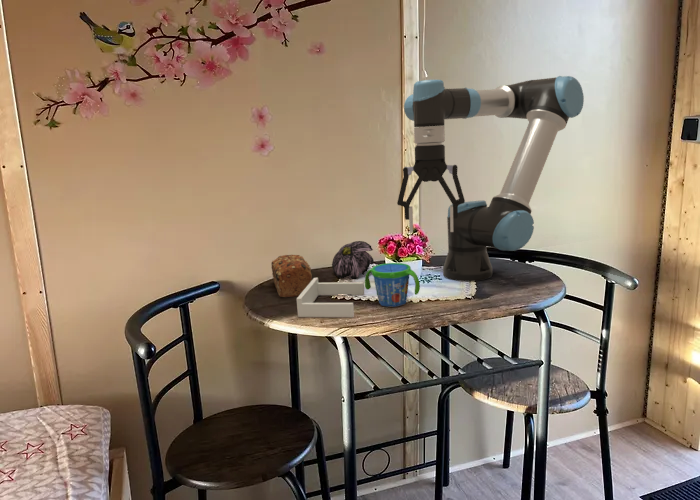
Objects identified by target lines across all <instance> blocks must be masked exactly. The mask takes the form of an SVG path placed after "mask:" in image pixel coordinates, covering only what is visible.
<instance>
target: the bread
mask: <svg viewBox="0 0 700 500" xmlns="http://www.w3.org/2000/svg"><path fill="white" fill-rule="evenodd" d="M311 269H312V268H311V267H310V264H309V263H308V262H307V261H306V260H305V258H304V257H303V256H302V255H300V254H284V255H279V256H278V257H277V258H276V259H275V258H274V260H272V261H271V271H272V274H271V275H272V278H273V279H272V280H273V283H274V286H275V289H276V291H277V294H278V296H279V297H280V298H292V297H293V298H294V297H298V296H299V295H300V294H301V293H302V292H303V290H304V289H305V288H306V287H307V286H308V284H309V283H310V282H311V281H312V280H313V278H312V276H313V275H312V271H311Z"/></svg>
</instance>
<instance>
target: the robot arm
mask: <svg viewBox="0 0 700 500" xmlns="http://www.w3.org/2000/svg"><path fill="white" fill-rule="evenodd" d="M584 98H585V97H584V92H583V88H582V85H581V83H580V82H579V80H578V79H577V78H575V77H574V76H570V75H564V76H563V75H559V76H557V77H549V78H539V79H538V78H537V79H530V80H525V81H521V82H516V83H513V84H508V85H506V84H505V85H499V86H497V87H496V88H495V89H493V88H492V89H474V88H468V87H464V88H463V87H462V88H445V86H444V81H443V80H442V79H424V80H418V81H415V83H414V84H413V90H412V94H409V95H408V96H407V97H406V99H405V101H404V103H403V104H404V105H403V109H404V114H405V116H406V118H407V119H409V120H410V121H412V122H413V131H414V132H413V136H414V137H413V139H414V143H415V144H416V145H415V147H414V164H413V166H404V167H403V169H402V173H403V177H402V181H401V185H400V190H399V194H398V198H397V202H396V203H397V206H401V207H403V209H404V219H405V220H406V221H407V220H408V221H409V224H408V225H409V226H408V227H409V233H410V234H411V233H412V234H413V232H414V215H413V214H414V213H413V206H410V205H411V203H412V201H413V199H414V198H415V195H416V194H417V192H418V189H419V188H420V186H421V184H422V182H424V183H425V182H427V183H429V182H437V181H438V182H439V184H440V185H441V188H442V189H443V191H444V192H445V194H446V196H447V197H448V199H449V201H450V202H451V204H450V205H449V206H448V209H447V217H446V218H447V219H446V220H447V221H446V223H447V244H448V246H447V247H448V249H447V251H448V252H447V255H446V258H445V261H444V264H443V267H442V268H443V269H442V276H443V277H444V278H446V279H449V280H451V281H460V282H474V281H475V282H476V281H477V282H478V281H484V280H487V279H489V278H492V276H493V266H492V263H491V260H490V257H489V254H488V250H487V248H492V249H496V250H497V249H498V250H499V251H508V252H509V251H510V252H513V251H514V252H515V251H518V250H520V249H522V248H524V247H525V246H526V245H527V244H528V243H529V241H531V238H532V235H533V233H534V229H535V227H534V223H535V222H534V218H533V216H532V212H533V211H532V208H531V206H530V202H531V199H532V197H533V194H534V192H535V189H536V187H537V184H538V181H539V180H540V177H541V174H542V171H543V169H544V167H545V165H546V163H547V160H548V157H549V154H550V152H551V150H552V147H553V145H554V141H555V140H556V138H557V134H558V132H560V131H562V130H564V129H566V126H567V124H568V121H569V119H571V118H575V117H578V116H579V115H580V114H581V113H582V111H583V107H584V101H585V100H584ZM489 116H495V117H497V118H500V119H501V118H502V119H504V118H506V119H507V118H510V119H521V120H527V121H528V123H527V127H526V129H525V131H524V134H523V135H522V138H521V141H520V144H519V147H518V149H517V151H516V154H515V156H514V158H513V161H512V163H511V166H510V168H509V171H508V174H507V176H506V179H505V181H504V183H503V186H502V187H501V190H500V193H499V194H497V195H495V196H493V197H492V199H491V201H490V203H489V206H488V204H487V200H472V201H471V200H470V201H466V200H465V197H464V193H463V189H462V186H461V183H460V180H459V177H458V165H457V164H453V165H452V164H447V163H446V152H445V151H446V146H445V145H444V144H443V143H444V142H445V139H446V138H445V135H446V134H445V131H446V130H445V120H455V119H457V120H458V119H465V120H466V119H470V118H473V117H489ZM446 171H448V172H449V174H451V175H452V179H453V182H454V186H455V189H456V193H457V196H458V199H456V197H455V195H454V194H453V193H452V191H451V189H450V186H449V185H448V184H447V182H446V180H445V179H444V177H443V175H444V173H445V172H446ZM412 172H414V173H415V174H416V175H417V176H418V178H417V180H416V182H415V184H414V186H413V188H412V190H411V192H410V193H409V195H408V197H407V199H406V200H404V198H405V193H406V190H407V187H408V186H407V185H408V182H409V178H410V176H411V175H412Z"/></svg>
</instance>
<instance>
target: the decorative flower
mask: <svg viewBox="0 0 700 500" xmlns="http://www.w3.org/2000/svg"><path fill="white" fill-rule="evenodd" d="M371 251H374V249H373V247H372V245H370V243H368V242H366V241H363V240H357V241H353V242H350V243H347V244H346V243H345V244H344V245H342V246H341V247H340V249H339V250H338V251H337V252H336V253H335V255H334V256H333V259H332V261H331V268H332V271H333V274H334V275H335V276H337V279H341V280H342V279H344V278H349V279H350V280H351V279H357V280H358V279H359V277H360V274H361V275H364V274H365V273H367V272H368V271H369V270H370V268H369V267H370V265H374V258H373V256H372V255H371V254H370V253H369V252H371Z"/></svg>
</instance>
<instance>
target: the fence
mask: <svg viewBox="0 0 700 500" xmlns="http://www.w3.org/2000/svg"><path fill="white" fill-rule="evenodd" d="M338 294H352V295H351V296H365V281H364V282H363V281H362V282H361V281H359V282H353V281H352V282H351V281H350V282H346V281H345V282H343V281H342V282H341V281H340V282H338V281H337V282H319V277H313V278H312V281H311V282H310V283H309V284H308V286H307V287H306V288H305V289H304V290H303V292H302V293H301V294H300V295H299V296H297V297H296V308H297V317H298V318H354V317H355V307H354V302H315V300H316V299H317V297H319V296H339V295H338Z"/></svg>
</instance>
